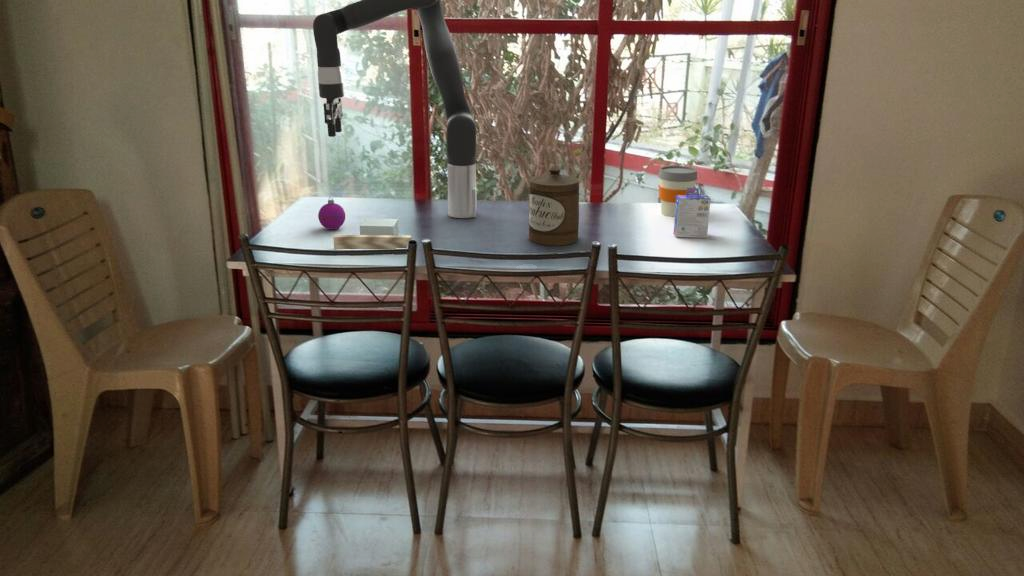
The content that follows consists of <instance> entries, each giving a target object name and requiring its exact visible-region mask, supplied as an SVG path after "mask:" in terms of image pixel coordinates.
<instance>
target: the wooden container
mask: <svg viewBox="0 0 1024 576" xmlns="http://www.w3.org/2000/svg"><path fill="white" fill-rule="evenodd" d="M548 172H549V174H539V175H535V176H532V177H530V179H529V207H528V208H529V210H528V239H529V241H531V242H533V243H535V244H539V245H542V244H543V245H544V246H566V245H570V244H574V243H577V241H578V240H579V227H580V226H579V222H580V179H579V178H578V177H576V176H572V175H567V174H561V168H560V167H559V166H557V165H552V166H550V167H549V168H548Z"/></svg>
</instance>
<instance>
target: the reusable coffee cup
mask: <svg viewBox="0 0 1024 576" xmlns="http://www.w3.org/2000/svg"><path fill="white" fill-rule="evenodd" d="M658 172H659V173H658V179H659V184H658V198H659V200H660V211H661V212H660V213H661V215H663V216H666V217H671V218H675V204H676V195H687V188H697V187H696V181H697V180H698V170H697V169H696V168H694V167H692V166H685V165H667V166H666V165H665V166H662V167H660V168H659V171H658ZM689 193H696V191H695V190H691V191H689Z"/></svg>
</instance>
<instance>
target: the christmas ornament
mask: <svg viewBox="0 0 1024 576" xmlns="http://www.w3.org/2000/svg"><path fill="white" fill-rule="evenodd" d="M317 217H318V220H319V224H320V225H321V226H322V227H323V228H325V229H328V230H336V229H339V228H340V227H342V226H343V224H345V221H346V213H345V210H344V208H343V207H342V206H341V205H340V204H338V203H335V200H334V198H333V197H329V199H328V200H327V203H326V204H323V205H322V206H321V207H320V209H319V210H318V214H317Z"/></svg>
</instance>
